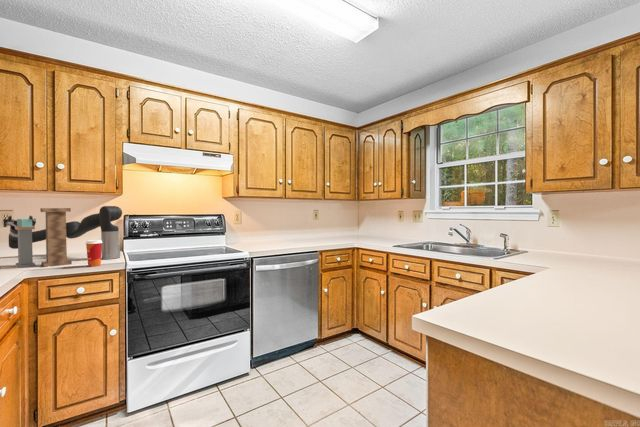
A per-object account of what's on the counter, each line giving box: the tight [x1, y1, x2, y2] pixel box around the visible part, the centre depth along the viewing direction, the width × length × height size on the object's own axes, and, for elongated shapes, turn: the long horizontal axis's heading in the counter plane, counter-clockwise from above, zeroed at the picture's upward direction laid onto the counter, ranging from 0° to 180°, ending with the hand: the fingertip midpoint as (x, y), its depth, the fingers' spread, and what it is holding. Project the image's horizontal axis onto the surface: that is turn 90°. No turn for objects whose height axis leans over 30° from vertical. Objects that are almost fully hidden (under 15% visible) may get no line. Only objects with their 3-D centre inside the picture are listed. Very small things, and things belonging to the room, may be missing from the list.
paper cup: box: [85, 239, 103, 268], centre depth 174 cm, size 8×8×14 cm
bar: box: [16, 218, 32, 227], centre depth 176 cm, size 4×24×4 cm, turn 49°
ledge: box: [15, 225, 37, 269], centre depth 175 cm, size 7×12×22 cm, turn 49°
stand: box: [39, 207, 72, 268], centre depth 178 cm, size 12×8×32 cm, turn 139°
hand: (20, 216), depth 187 cm, fingers open, 8 cm apart
